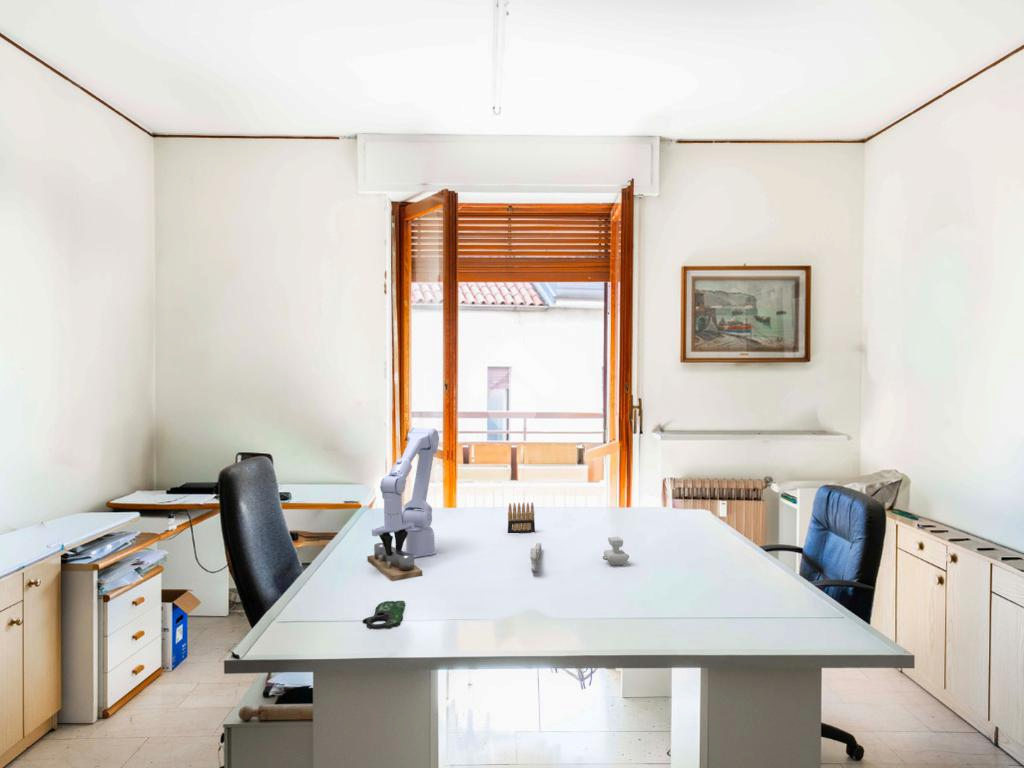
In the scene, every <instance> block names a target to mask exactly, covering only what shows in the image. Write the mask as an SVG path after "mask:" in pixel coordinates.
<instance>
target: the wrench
mask: <svg viewBox="0 0 1024 768" xmlns="http://www.w3.org/2000/svg"><path fill="white" fill-rule="evenodd" d="M541 553H542V543H540V542H536V543H535V546H534V547H531V548H530V555H529V557H530V558H529V559H530V560H531V562H530V563H531V568H530V569H531V572H532V573H537V572H538V563H539V562H538V560H539V558H540V556H541Z"/></svg>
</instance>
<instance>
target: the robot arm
mask: <svg viewBox="0 0 1024 768" xmlns="http://www.w3.org/2000/svg"><path fill="white" fill-rule="evenodd" d="M406 438H407V439H406V440H407V445H406V447H405V449H404V452H402V453H403V454H402V456H401V457H400V458H398V459H396V460H395V463H394V464H393V466H392V468H391V469H390V471H389V473H388V475H386V476H385V477H383V478H382V479H381V481H380V485H379V486H380V487H379V489H380V492H381V494H382V499H383V511H384V515H383V516H384V519H383V522H384V525H383V526H380V527H378V528H374V529H371V536H372V537H378V536H379V538H380V540H381V543H383V544H384V547H385V551H386V555H388V556H391V553H392V547H393V546H392V545H393V540H395V548H397V549H399V550H401V551H404V552H406V553H412V554H414V559H416V558H419V557H425V556H432V555H436V552H435V531H434V529H433V527H431V525H432V523H433V508H432V507H431V505H430V504H429V503H428V502H427V497H428V491H429V486H430V479H431V474H432V468H433V462H434V456H435V454H437V453H438V448H439V442H440V435H439V432H438V430H437V429H436V428H415V427H411V428H410V429H409V431H408V433H407V436H406ZM417 455H418V461H417V466H416V473H415V478H414V484H413V488H412V489H413V490H412V494H411V495H412V496H411V499H410V500H409V501H407V502H406V503H405V504H404V505H403V493H404V492H405V490H406V484H407V477H408V476H409V474H410V472H411V470H412V468H413V465H412V462H413V460H415V457H416V456H417ZM392 533H393V534H394V536H393V535H391V534H392ZM404 543H405V546H406V548H405V550H403V546H404Z"/></svg>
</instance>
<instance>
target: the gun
mask: <svg viewBox="0 0 1024 768" xmlns="http://www.w3.org/2000/svg"><path fill="white" fill-rule="evenodd" d="M405 607H406V601H404V600H388V601H387V600H386V601H382V602H380V603H379V604H377V606H375V609H374V610H375V611H374V614H373V615H372V616H369V617H365V618H364V619H362V624H365V625H366V628H367V629H369V630H371V629H373V630H382V629H386V630H391V629H393V628H394V627H395V628H396V627H397V628H398V627H399V626H400V625H401V623H402V621H403V619H404V615H403V614H404V611H405ZM384 621H385V622H384ZM375 622H376V623H375ZM377 622H382V623H377Z"/></svg>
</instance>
